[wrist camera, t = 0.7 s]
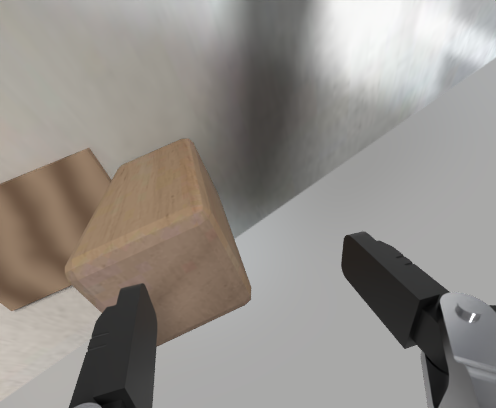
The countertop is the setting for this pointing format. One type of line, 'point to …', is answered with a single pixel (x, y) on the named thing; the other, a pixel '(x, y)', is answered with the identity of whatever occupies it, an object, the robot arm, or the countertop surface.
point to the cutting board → (45, 225)
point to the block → (162, 243)
